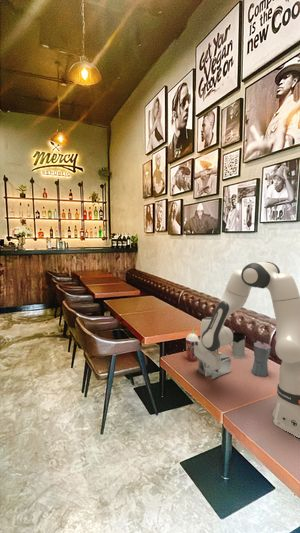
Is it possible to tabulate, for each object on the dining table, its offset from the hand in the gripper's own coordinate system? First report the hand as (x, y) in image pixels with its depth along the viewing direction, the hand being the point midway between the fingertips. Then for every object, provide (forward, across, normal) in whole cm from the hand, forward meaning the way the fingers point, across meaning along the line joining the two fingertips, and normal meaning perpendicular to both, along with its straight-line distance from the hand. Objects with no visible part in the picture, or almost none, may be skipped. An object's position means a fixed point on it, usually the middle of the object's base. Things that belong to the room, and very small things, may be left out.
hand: (206, 370), depth 151 cm
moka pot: (+5, -6, -34) cm, 34 cm away
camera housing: (+5, +6, -10) cm, 13 cm away
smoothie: (+6, +24, -7) cm, 26 cm away
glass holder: (+6, +20, -39) cm, 44 cm away
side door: (+5, -1, -8) cm, 9 cm away
